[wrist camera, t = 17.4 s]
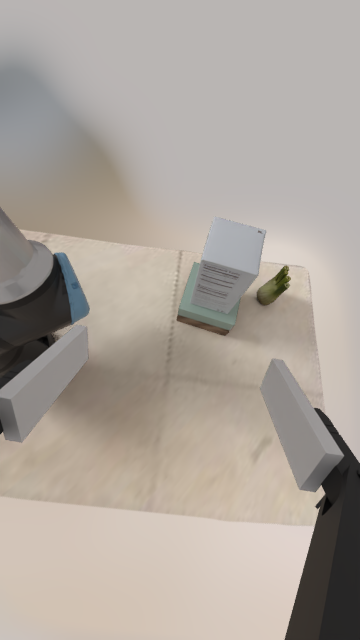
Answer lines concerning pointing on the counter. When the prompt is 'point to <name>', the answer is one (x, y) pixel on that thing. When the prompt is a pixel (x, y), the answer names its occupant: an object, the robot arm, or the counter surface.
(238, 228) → the supplement box
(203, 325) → the tower base
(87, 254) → the counter surface
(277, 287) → the fennel bulb
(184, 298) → the tower top
